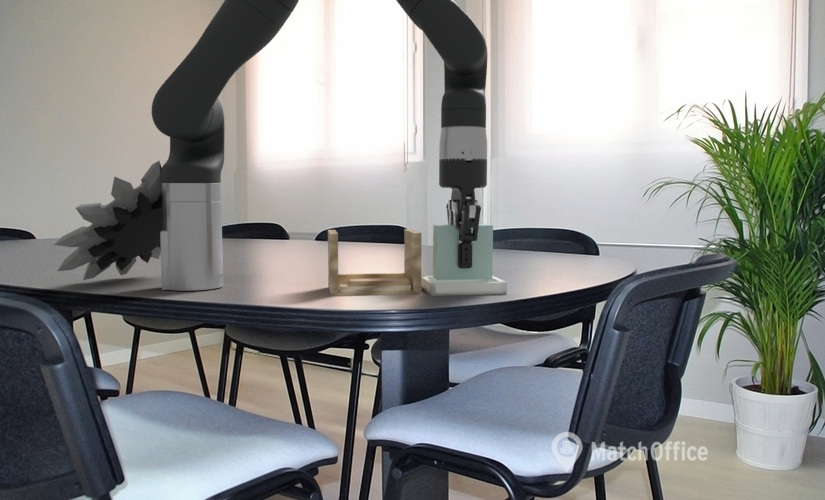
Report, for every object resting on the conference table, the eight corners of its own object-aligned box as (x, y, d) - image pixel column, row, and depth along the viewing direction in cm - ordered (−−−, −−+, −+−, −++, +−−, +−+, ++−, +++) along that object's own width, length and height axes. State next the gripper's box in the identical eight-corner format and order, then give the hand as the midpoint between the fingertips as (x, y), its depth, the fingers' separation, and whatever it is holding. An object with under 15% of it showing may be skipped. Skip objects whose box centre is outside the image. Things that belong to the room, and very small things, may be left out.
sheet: (436, 280, 105) (436, 225, 104) (433, 277, 108) (433, 224, 107) (492, 278, 106) (493, 225, 106) (487, 276, 109) (487, 224, 108)
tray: (430, 296, 102) (430, 283, 102) (420, 288, 111) (420, 276, 111) (506, 295, 104) (507, 282, 104) (491, 286, 113) (491, 275, 112)
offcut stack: (340, 292, 103) (340, 281, 103) (339, 289, 106) (339, 279, 105) (411, 290, 104) (411, 280, 104) (408, 287, 107) (408, 277, 107)
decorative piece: (93, 314, 124) (29, 242, 97) (82, 299, 125) (16, 223, 98) (231, 226, 135) (208, 140, 108) (220, 213, 136) (195, 124, 110)
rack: (330, 296, 102) (329, 233, 101) (328, 287, 112) (327, 229, 111) (421, 294, 104) (421, 232, 103) (411, 285, 114) (411, 229, 113)
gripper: (431, 159, 112) (430, 262, 113) (449, 155, 98) (448, 272, 99) (475, 159, 113) (474, 261, 114) (498, 155, 99) (497, 271, 101)
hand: (462, 266), depth 107 cm, fingers closed on sheet, 3 cm apart
